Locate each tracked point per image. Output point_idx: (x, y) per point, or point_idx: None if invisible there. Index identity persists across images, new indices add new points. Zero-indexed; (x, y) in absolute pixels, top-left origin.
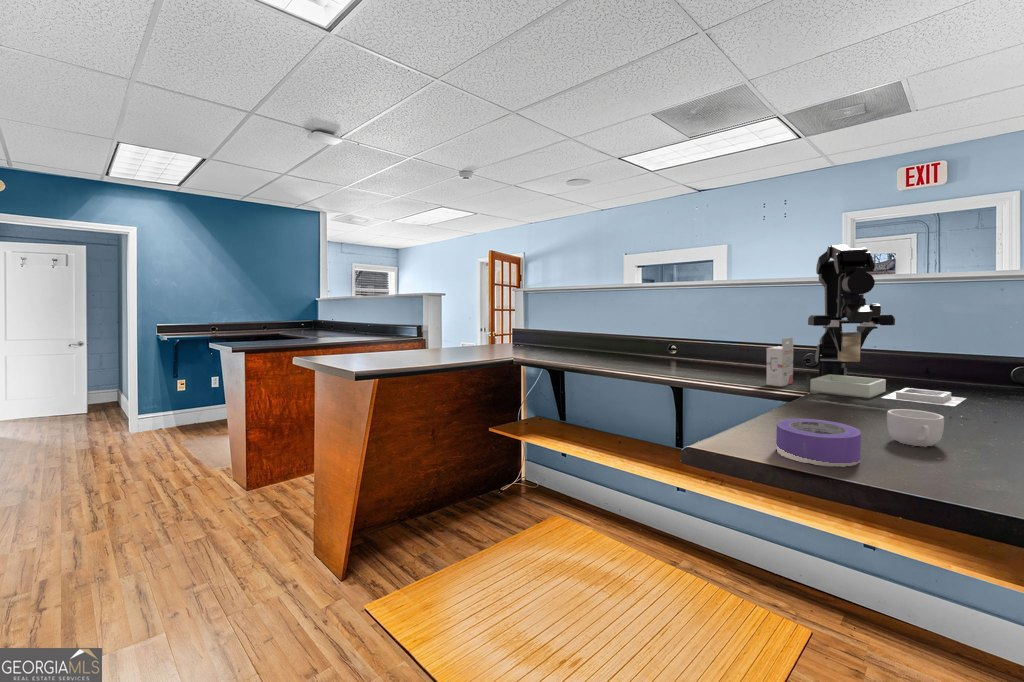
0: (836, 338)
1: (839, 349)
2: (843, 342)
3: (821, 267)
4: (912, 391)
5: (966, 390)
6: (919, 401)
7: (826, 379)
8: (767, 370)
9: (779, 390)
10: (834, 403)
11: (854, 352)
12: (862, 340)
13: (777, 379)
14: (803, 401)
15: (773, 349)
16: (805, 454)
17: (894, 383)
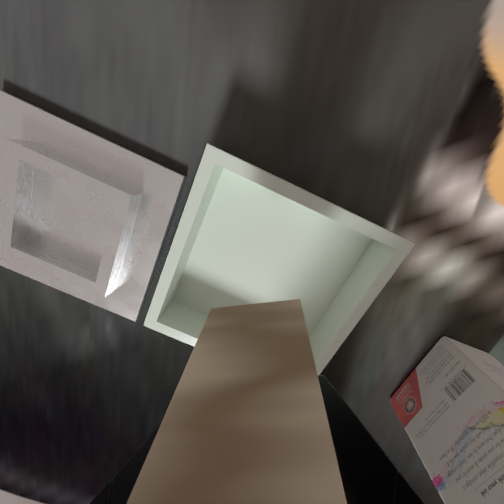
0: (414, 495)
1: (327, 385)
2: (323, 417)
3: None
4: (93, 275)
5: (6, 399)
6: (84, 143)
7: (321, 341)
8: None
9: (480, 257)
10: (352, 16)
11: (230, 343)
12: (135, 474)
13: (477, 356)
14: (471, 8)
15: None
16: None
17: None
